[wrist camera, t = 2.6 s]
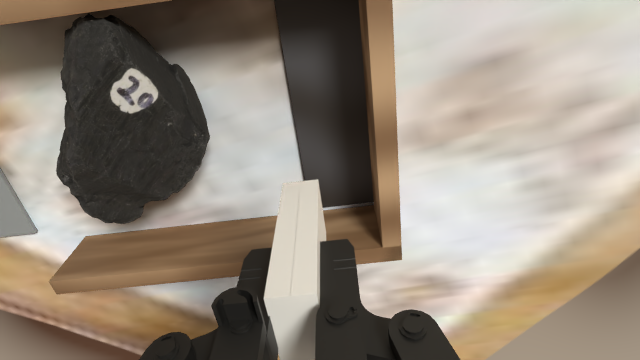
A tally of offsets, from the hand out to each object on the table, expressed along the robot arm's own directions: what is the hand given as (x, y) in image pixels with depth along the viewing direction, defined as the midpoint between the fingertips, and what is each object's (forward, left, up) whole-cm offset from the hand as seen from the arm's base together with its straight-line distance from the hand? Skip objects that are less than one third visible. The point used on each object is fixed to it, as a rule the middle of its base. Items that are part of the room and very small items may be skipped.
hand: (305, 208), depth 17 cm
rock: (0, -15, -11) cm, 18 cm away
